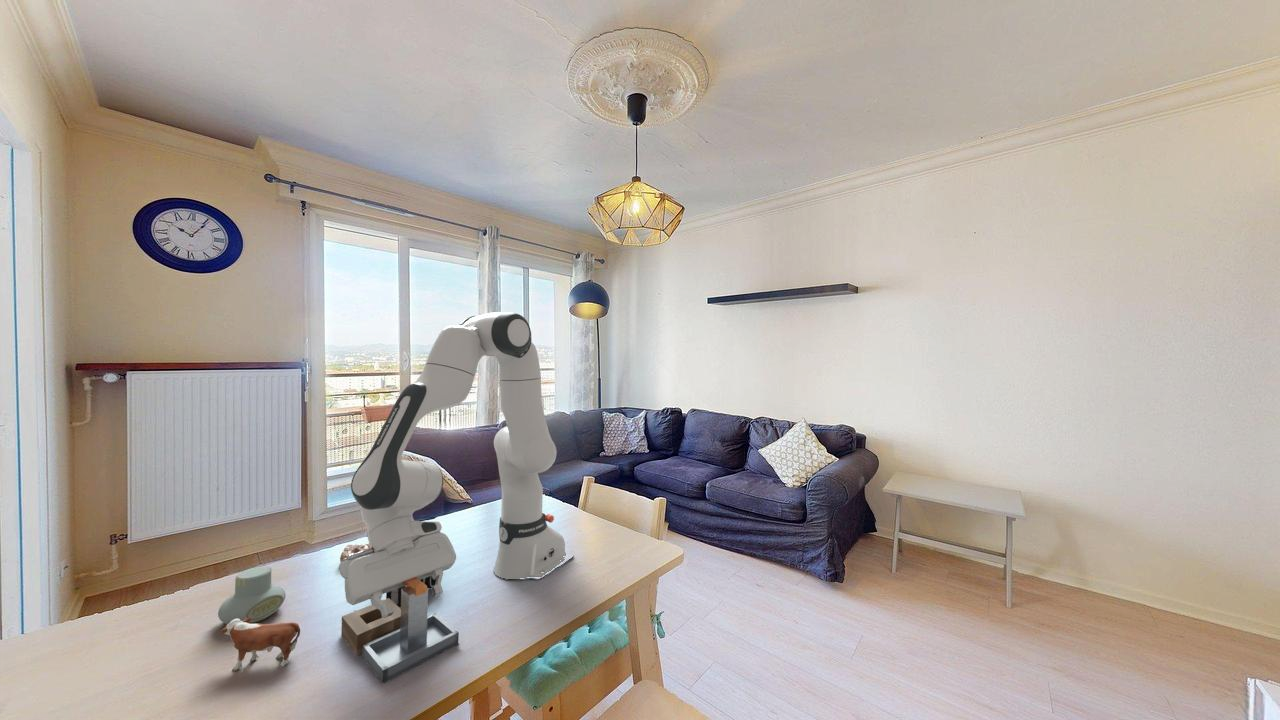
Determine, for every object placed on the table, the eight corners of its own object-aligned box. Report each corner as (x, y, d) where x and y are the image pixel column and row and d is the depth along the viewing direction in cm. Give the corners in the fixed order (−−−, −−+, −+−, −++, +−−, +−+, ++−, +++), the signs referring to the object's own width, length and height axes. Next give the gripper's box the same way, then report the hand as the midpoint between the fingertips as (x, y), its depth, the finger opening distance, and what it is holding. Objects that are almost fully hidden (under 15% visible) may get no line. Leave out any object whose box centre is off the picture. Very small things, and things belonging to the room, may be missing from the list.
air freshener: (233, 637, 86) (234, 588, 86) (209, 627, 89) (210, 580, 89) (292, 608, 97) (293, 564, 97) (269, 600, 99) (270, 557, 99)
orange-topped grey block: (416, 635, 87) (417, 573, 87) (429, 648, 83) (431, 584, 83) (397, 643, 84) (399, 580, 84) (410, 657, 81) (411, 591, 81)
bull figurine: (230, 655, 81) (231, 613, 81) (304, 653, 82) (305, 611, 82) (209, 672, 77) (210, 628, 77) (288, 670, 78) (289, 626, 78)
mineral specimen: (393, 547, 124) (390, 532, 121) (386, 571, 118) (384, 556, 115) (345, 551, 121) (342, 536, 117) (336, 577, 115) (332, 561, 111)
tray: (435, 623, 92) (435, 612, 92) (458, 643, 86) (458, 632, 86) (362, 657, 81) (362, 645, 81) (382, 683, 75) (383, 670, 75)
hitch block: (388, 615, 95) (389, 597, 95) (405, 632, 89) (406, 614, 89) (341, 635, 88) (341, 616, 88) (356, 655, 82) (357, 635, 82)
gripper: (341, 550, 80) (358, 623, 74) (447, 519, 96) (468, 577, 90) (333, 566, 83) (349, 637, 77) (437, 534, 99) (457, 590, 93)
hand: (414, 604), depth 83 cm, fingers open, 8 cm apart
